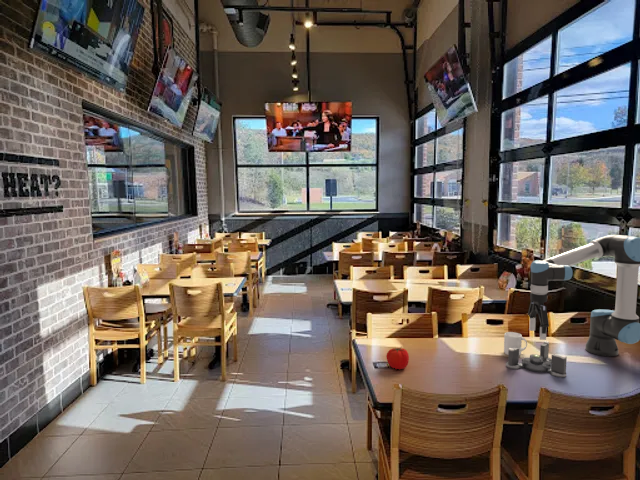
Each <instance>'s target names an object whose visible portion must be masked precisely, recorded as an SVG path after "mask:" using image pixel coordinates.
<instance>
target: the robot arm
mask: <svg viewBox="0 0 640 480" xmlns="http://www.w3.org/2000/svg"><path fill="white" fill-rule="evenodd" d="M603 257H613V258H614V263H615V264H616V265H617V271H616V272H617V274H616V275H617V276H616V288H615V289H616V290H615V291H616V292H615V304H614V305H615V306H614V310H613V309H612V310H611V309H600V308H599V309H594V310H592V311H591V312H590V319H589V320H590V322H589V323H590V326H589V337H588V339H587V341H586V342H585V345H584V348H585V351H587V352H589V353H590V354H593V355H597V356H601V357H616V356H618V355H619V348H618V347H619V346H618V344H617V341H619V342H621V343H625V344H628V345H634V344H636V343H639V341H640V317H639V315H637V313H636V312H637V299H638V284H639V270H640V269H639V268H640V237H639V236H635V235H623V234H610V235H609V234H608V235H605V236H602V237H601V236H600V237H598V238H596V239H593V240H591V241H589V242H588V244H585V245H582V246H579V247H576V248H574V249H571V250H568V251H566V252H563V253H561V254H557V255H555V256H552V257H549V258H546V259H540V260H539V259H536V260H533V261H532V262H531V263H530V286H529V288H530V292H531V293H530V296H529V297H530V298H529V299H530V304H529V306H528V307H529V308H528V311H527V316H528V317H529V324H528V325H529V326H528V327H529V328H528V331H530V332H531V331H533V332H534V331H536V322H537V321H536V318H537V316H536V315H538V320H539V322H540V325H539V340H540V341H541V340H542V341H546V340H547V330H548V329H547V328H549V327H550V324H549V323H550V322H549V318H548V317H549V316H548V307H547V305H544V303H546V302H548V292H549V282H551V281H552V282H553V281H554V282H557V281H569V280H571V279H572V277H573V271H574V270H573V269H572V266H575V265H577V264H580V263H583V262H586V261H588V260H591V259H594V258H596V259H600V258H603ZM616 340H617V341H616Z"/></svg>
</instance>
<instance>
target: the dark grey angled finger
mask: <svg viewBox="0 0 640 480" xmlns="http://www.w3.org/2000/svg"><path fill="white" fill-rule="evenodd" d="M508 350H509V351H508V355H507V356H508V357H507V362H508V365H511V366H512V365H515V364H517V363H520V359H519V358H520V355H519V348H516V347H515V348H509V349H508Z"/></svg>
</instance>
